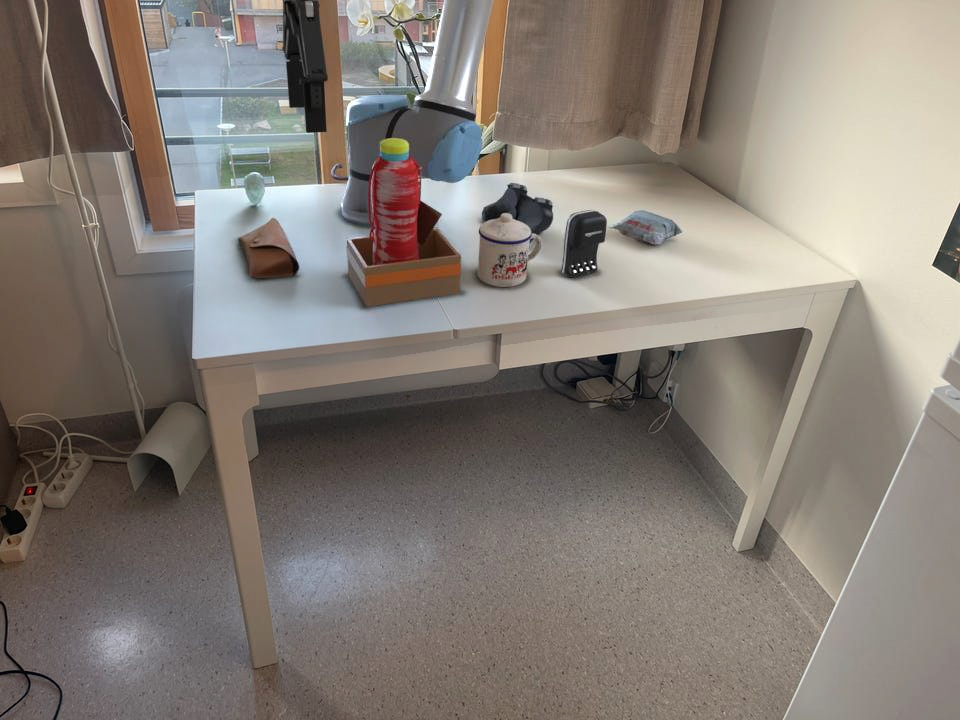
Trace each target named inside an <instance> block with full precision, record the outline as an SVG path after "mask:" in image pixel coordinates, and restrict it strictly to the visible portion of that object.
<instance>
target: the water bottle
mask: <svg viewBox="0 0 960 720" xmlns="http://www.w3.org/2000/svg"><path fill="white" fill-rule="evenodd" d="M421 172H422V167H420V166H419V165H418V164H417V162H416V161H415V160H414V159H413V158H411V157H410V155H409V143H408V142H407V141H406V140H403V139H397V138H389V139H385V140H382V141H381V142H380V155H379V156H378V157H377V160H376V161H375V162H374V164H373V166H372V171H371V174H370V178H369V191H368V214H369V221H370V223H371V225H372V226H371V228H370V229H369V234H368V235H369V240H371V236H372V239H373V265H381V264H389V263H396V262H404V261H412V260H419V257H418V243H419V244H420V245H421V246H422V245H423V243H424V242H426V240H427V239H428V237H429V235H430V234H431V232H432V230H433V229H435V227H436V225H437V224H438V222H439V220H440V219H441V217H442V216H443V214H442V213H441V212H440V211H438V210H436V209H435V208H433V207H432V206H430V205H429V204H427V203H426V202H424V201H423V200H422V176H421ZM418 173H419V176H418ZM370 193H371V202H372V210H373V220H372V221H371V213H370Z"/></svg>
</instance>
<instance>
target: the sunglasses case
mask: <svg viewBox="0 0 960 720" xmlns="http://www.w3.org/2000/svg"><path fill="white" fill-rule="evenodd" d="M237 240H238V242H239V243H240V244H241V246H242V248H243V251H244V254H245V256H246V261H247V265H248V269H249V271H248V273H249V277H250V278H253V279H278V278H279V279H280V278H288V277H294V276H295V275H296V274H298V271H299V270H300V264H299V262H298V259H297V256H296V254H295V252H294V249H293V246H292V245H291V243H290V240H289V238H288V236H287V234H286V232H285V230H284V229H283V227H282V225H281V223H280V222H279V220H278V219H276V218H275V217H271V218H270V219H269V220H268V221H267V222H266V223H264V224H262V225H260V226H258V227H256V228H255V229H253V230H251V231H249V232H248V233H245V234H243V235H242V236H239V237H238V238H237Z"/></svg>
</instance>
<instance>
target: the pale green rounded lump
mask: <svg viewBox="0 0 960 720" xmlns="http://www.w3.org/2000/svg"><path fill="white" fill-rule="evenodd" d="M243 187H244V192H245V194H246V197H247V199H248V201H249V202H250V203H251V204H252V205H254V206H256V205H259V204H260V203H261V202H262V201H263V198H264V195H265V191H266V181H265V178H264V177H263V175H261V173H259V172H256V171H253V172H250V173H249V174H247V175H244V176H243Z"/></svg>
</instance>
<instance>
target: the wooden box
mask: <svg viewBox="0 0 960 720" xmlns="http://www.w3.org/2000/svg"><path fill="white" fill-rule="evenodd" d="M345 246H346V258H347V271H348V272H347V273H348V275H347V277H349V279H350V282H351V283H352V284H353V286H354V288H355V290H356V292H357V293H358V296H359V297H360V299H361V301H362V302H363V304H364V306H365V307H366V308H369V307H376V306H383V305H390V304H398V303H403V302H411V301H418V300H425V299H431V298H438V297H444V296H445V297H446V296H451V295H459V294H460V293H461V274H462V255H461V254H460V253H459V251H458V250H457V249H456V248H455V247H454V245H452V243H450V241H449V240H448V239H447V238H446V236H444V235H443V234H442V232H441V231H440V230H439V229H438V228H434V229H433V230H432V232H431V234H430V235H429V237H428V239H427V240H426V242H424V243H423V245H422V246H421V245H420V244H419V243H418V257H419V260H412V261H404V262H396V263H389V264H381V265H373V239H372V235H371V240H369V236H367V235H366V236H360V237H350V238H346V245H345Z"/></svg>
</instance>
